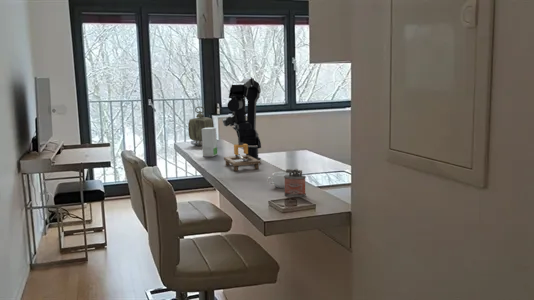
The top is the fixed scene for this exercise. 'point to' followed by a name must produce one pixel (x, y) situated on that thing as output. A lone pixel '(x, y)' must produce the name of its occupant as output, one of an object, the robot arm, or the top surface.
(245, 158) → the silver metal rod
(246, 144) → the yellow block
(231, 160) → the wooden frame with rod
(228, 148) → the top surface
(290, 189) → the lighter
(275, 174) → the teacup
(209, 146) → the skincare box
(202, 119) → the tabletop clock
